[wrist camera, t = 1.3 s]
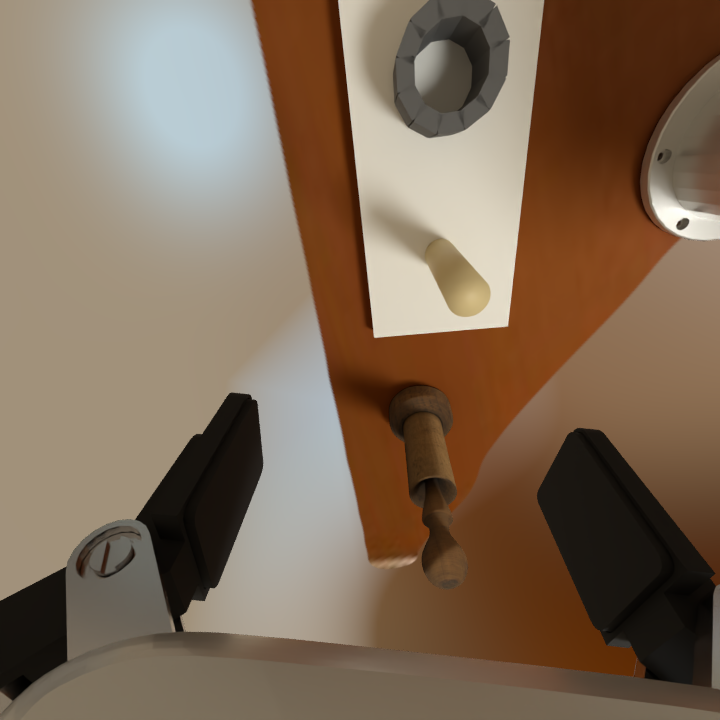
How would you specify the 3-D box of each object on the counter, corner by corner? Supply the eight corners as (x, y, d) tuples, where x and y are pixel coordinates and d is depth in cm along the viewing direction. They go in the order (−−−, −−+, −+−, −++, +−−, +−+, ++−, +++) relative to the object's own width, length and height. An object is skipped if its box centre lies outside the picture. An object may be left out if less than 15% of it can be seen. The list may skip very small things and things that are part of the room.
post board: (541, -61, 20) (707, -286, 10) (502, 319, 32) (559, 391, 22) (337, -22, 21) (300, -188, 11) (374, 330, 33) (373, 404, 23)
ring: (491, 9, 20) (514, -22, 17) (484, 130, 23) (503, 125, 20) (390, 27, 21) (392, 0, 17) (396, 142, 24) (399, 139, 20)
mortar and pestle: (436, 375, 35) (482, 545, 20) (458, 419, 38) (513, 598, 22) (378, 398, 37) (379, 570, 21) (403, 438, 40) (420, 616, 24)
